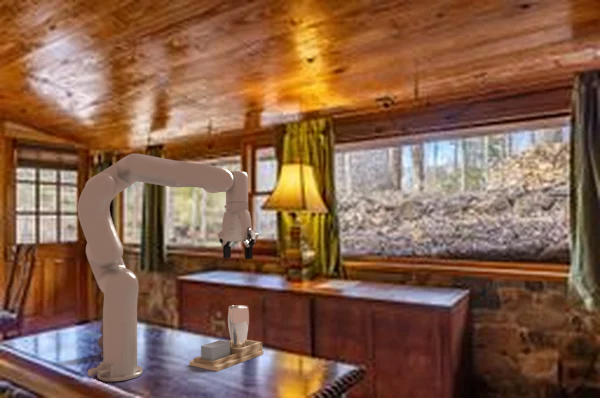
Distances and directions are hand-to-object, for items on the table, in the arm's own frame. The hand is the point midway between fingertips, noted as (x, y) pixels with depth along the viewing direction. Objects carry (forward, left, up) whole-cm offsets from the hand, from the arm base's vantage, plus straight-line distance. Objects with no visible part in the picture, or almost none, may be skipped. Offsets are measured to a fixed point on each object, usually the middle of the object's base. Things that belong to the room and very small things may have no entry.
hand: (237, 258), depth 169 cm
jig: (-6, 0, -32) cm, 33 cm away
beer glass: (0, 0, -31) cm, 31 cm away
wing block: (-11, 0, -31) cm, 33 cm away
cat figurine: (-23, +38, -32) cm, 55 cm away
